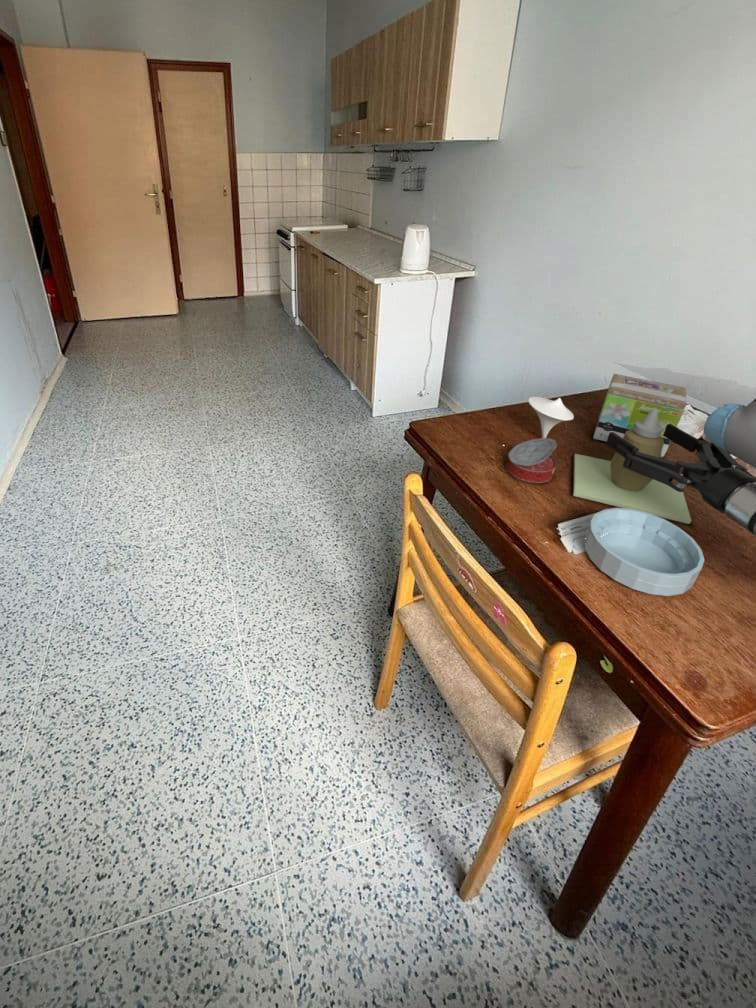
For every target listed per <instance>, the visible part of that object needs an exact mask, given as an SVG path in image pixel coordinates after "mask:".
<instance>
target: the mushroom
mask: <svg viewBox="0 0 756 1008" xmlns="http://www.w3.org/2000/svg"><path fill="white" fill-rule="evenodd" d="M527 402H528V404H529V406H530V407H531V408H532V409H533V410H534V411H535V412H536V414H537V416H538V418H539V421H540V427H541V438H548V434H549V433H550V431H551V430H552V429H553V427H555V426H557V425H558V424H559V423H562V422H567V421H573V420H574V418H575V416H574V413H573V412H572V411H571V410H570V409H569V408H568V407H566V405H564V403H563V401H562V399H561V397H558V398H557V399H554V400H552V399H549V398H545V397H541V396H531V397H529V398H528V401H527Z"/></svg>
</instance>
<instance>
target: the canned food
mask: <svg viewBox="0 0 756 1008" xmlns="http://www.w3.org/2000/svg"><path fill="white" fill-rule="evenodd" d="M557 447H558V443H557V440H556V439H553V438H550V437H546V438H542V437H540V438H532V439H530V440H526V441H522V442H521V443H519V444H516V445H515V446H514V447H513V448H511V450H510V451H509V452H508V455H507V460H506V464H505V467H506V470H507V471H508V473H509V474H510V475H512V476H513V477H515V478H516V479H519V480H521V481H523V482H528V483H532V484H541V483H547V482H549V481H551V480H552V479H553V477H554V473H555V469H556V466H557V462H556V460H555V459H554V457H553V456H552V454H553V452H554V451H555V450H556V449H557Z"/></svg>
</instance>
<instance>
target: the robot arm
mask: <svg viewBox="0 0 756 1008" xmlns="http://www.w3.org/2000/svg"><path fill="white" fill-rule="evenodd" d="M703 434H704V437H705V438H706V440H708V441H709V442H708V441H706V440H700V439H698V438H697V437H695V436H693V435H692V434H689V433H687V432H686V431H684V430H682V429H680V428H679V427H678V426H677V427H675V426H673V425H672V424H667V427H666V429H665V432H664V434H663V436H665V437H666V438H668V439H670V440H671V442H672V443H675V444H676V445H678V446H680V447H681V448H683V449H685V450H686V451H688V452H689V453H695V454H694V455H695V456H697V458H698V461H695V462H685V461H681V460H678V461H672V460H668V459H666V458H663V457H660V458H658V457H655V456H651V455H648V454H644V453H640V452H638V451H639V449H638V448H636V447H635V446H633V445H632V444H630V443H629V442H627V441H626V440H624V439H623V438H621V437H620V436H618V435H617V434H615V433H614V432H610V433H609V436H608V439H607V442H606V441H605V444H606V445H607V446H608V447H610V448H611V449H613V451H615V453H616V452H617V453H618V454H620V455H621V456H623V457H624V458H625V461H624V463H623V467H625V468H627V469H629V470H632V471H634V472H637V473H639V474H641V475H644V476H646V477H649V478H651V479H654V480H656V481H658V482H661V483H663V484H666V485H668V486H670V487H671V488H673V489H674V490H676V491H678V492H683V493H684V491H685V489H686V488H687V487H688V488H692V489H695V490H697V491H698V492H699V494H700V496H701V498H702V500H703V502H704V503H706V504H707V505H709V506H710V507H712V508H713V509H715V510H716V511H718V512H719V513H720V514H723V515H725V516H726V517H727V518H728V519H730V520H731V521H733V522H734V523H736V524H737V525H739V526H740V527H742V528H744V529H745V530H747V532H750V533H751V534H752V535H753V536H755V537H756V478H755V477H753V476H751V475H750V474H748V473H747V472H748V470H749V469H748V468H747V467H745V466H743V465H742V464H740V463H739V462H738V461H737V460H736V459H735V458H737V459H738V460H740V461H742V462H744V463H746V464H747V465H750V466H751V467H752V468H754V469H756V397H755V398H754V399H753V400H752V401H751V402H750V403H748V404H747V405H744V404H739V403H736V402H732V403H726V404H723V406H722V407H717V408H716V409H715V410H714V411H712V412H711V413H710V415H709V416H708V417H707V419H706V420H705V423H704V425H703ZM695 451H696V452H695ZM638 457H639V458H638ZM734 457H735V458H734ZM681 469H682V470H681ZM680 471H681V473H680Z"/></svg>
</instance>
